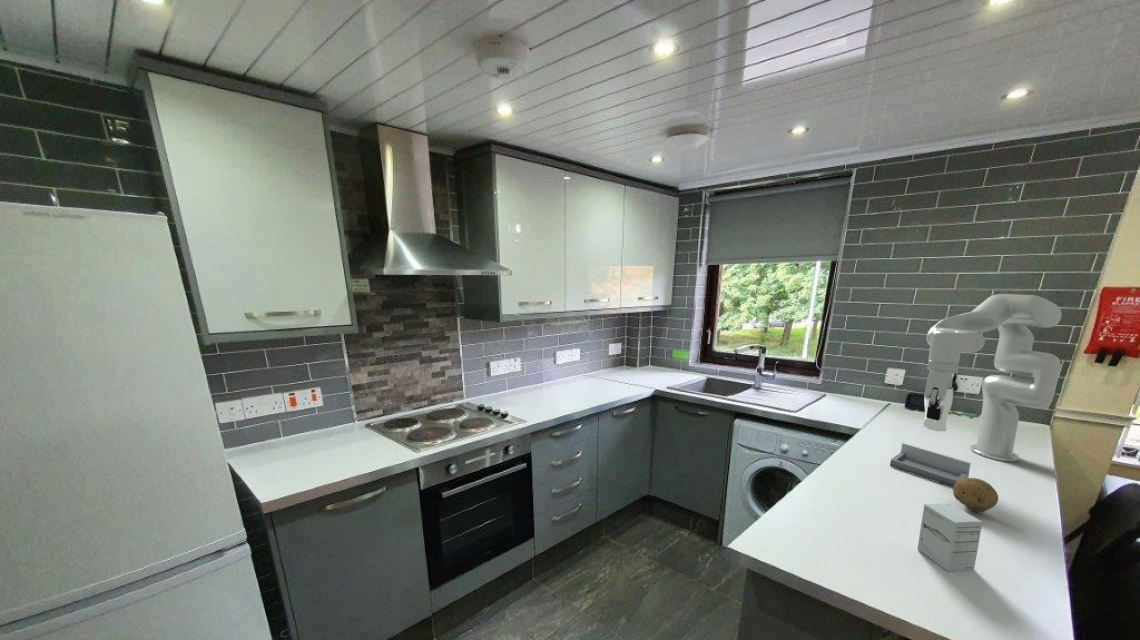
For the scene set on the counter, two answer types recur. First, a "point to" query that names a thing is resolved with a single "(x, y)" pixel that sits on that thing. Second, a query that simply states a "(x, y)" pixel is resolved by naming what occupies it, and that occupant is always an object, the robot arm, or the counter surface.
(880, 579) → the counter surface
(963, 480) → the natural sponge
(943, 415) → the beer glass
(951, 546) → the supplement box
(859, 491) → the counter surface
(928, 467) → the guarded tray
